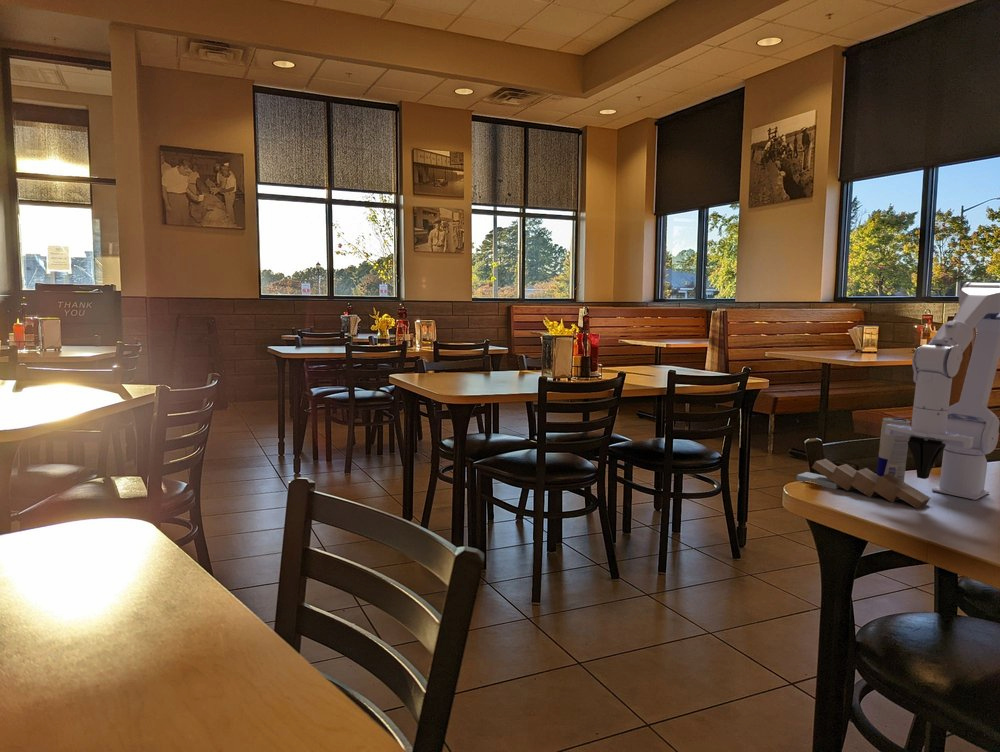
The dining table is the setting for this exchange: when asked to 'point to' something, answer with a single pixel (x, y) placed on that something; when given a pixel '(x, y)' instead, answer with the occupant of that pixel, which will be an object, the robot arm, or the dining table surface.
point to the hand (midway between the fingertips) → (922, 477)
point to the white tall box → (892, 451)
